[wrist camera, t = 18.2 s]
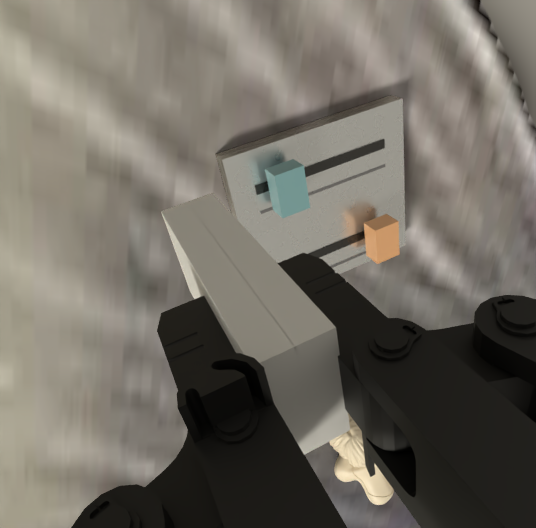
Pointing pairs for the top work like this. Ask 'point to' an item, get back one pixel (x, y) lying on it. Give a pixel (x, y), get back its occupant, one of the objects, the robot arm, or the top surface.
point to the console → (324, 183)
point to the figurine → (359, 465)
